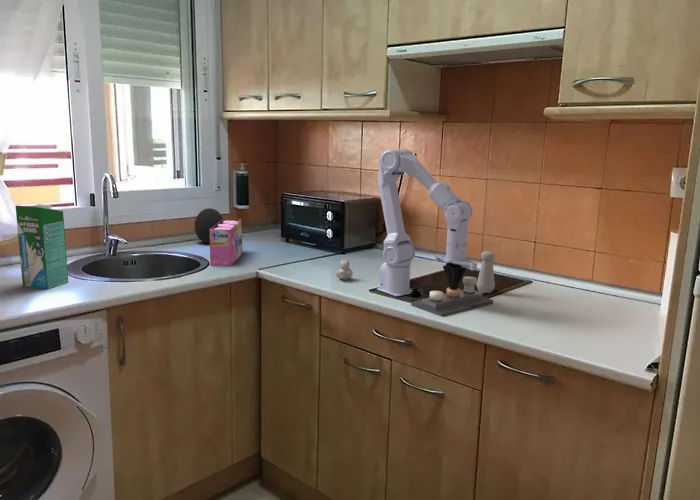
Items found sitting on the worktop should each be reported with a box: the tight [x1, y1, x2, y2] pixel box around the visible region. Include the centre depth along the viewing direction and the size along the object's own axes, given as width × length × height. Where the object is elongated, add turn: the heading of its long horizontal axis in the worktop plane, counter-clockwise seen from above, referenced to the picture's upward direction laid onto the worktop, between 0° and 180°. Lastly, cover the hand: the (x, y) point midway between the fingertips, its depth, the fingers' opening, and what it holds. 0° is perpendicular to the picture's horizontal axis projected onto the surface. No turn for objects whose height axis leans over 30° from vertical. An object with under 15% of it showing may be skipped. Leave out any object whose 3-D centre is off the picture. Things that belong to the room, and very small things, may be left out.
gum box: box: [209, 218, 243, 267], centre depth 221 cm, size 24×8×14 cm, turn 0°
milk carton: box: [15, 203, 69, 290], centre depth 179 cm, size 9×9×25 cm
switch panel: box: [410, 289, 494, 317], centre depth 171 cm, size 12×22×3 cm, turn 128°
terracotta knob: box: [445, 287, 461, 298], centre depth 171 cm, size 4×4×4 cm
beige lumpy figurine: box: [336, 256, 354, 281], centre depth 195 cm, size 5×7×8 cm
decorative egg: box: [194, 208, 224, 245], centre depth 248 cm, size 12×12×15 cm
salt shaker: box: [475, 250, 496, 294], centre depth 185 cm, size 6×6×13 cm
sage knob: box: [462, 275, 478, 293], centre depth 175 cm, size 4×4×4 cm
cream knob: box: [428, 290, 445, 302], centre depth 167 cm, size 4×4×4 cm
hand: (453, 289), depth 171 cm, fingers closed, pressing on terracotta knob
